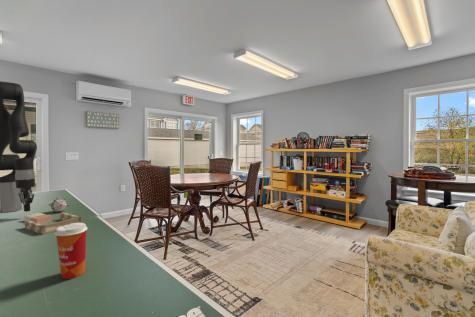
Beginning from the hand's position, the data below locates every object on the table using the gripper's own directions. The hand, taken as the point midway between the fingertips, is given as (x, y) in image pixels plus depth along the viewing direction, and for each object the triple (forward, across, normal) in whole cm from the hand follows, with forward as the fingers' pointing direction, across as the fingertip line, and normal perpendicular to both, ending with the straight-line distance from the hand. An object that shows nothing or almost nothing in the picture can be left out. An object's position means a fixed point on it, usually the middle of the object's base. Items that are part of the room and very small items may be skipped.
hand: (27, 211), depth 123 cm
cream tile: (+4, +8, 0) cm, 9 cm away
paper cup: (+6, +82, -17) cm, 84 cm away
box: (+4, +27, +1) cm, 27 cm away
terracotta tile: (+4, +14, 0) cm, 15 cm away
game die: (+4, +1, +14) cm, 15 cm away
